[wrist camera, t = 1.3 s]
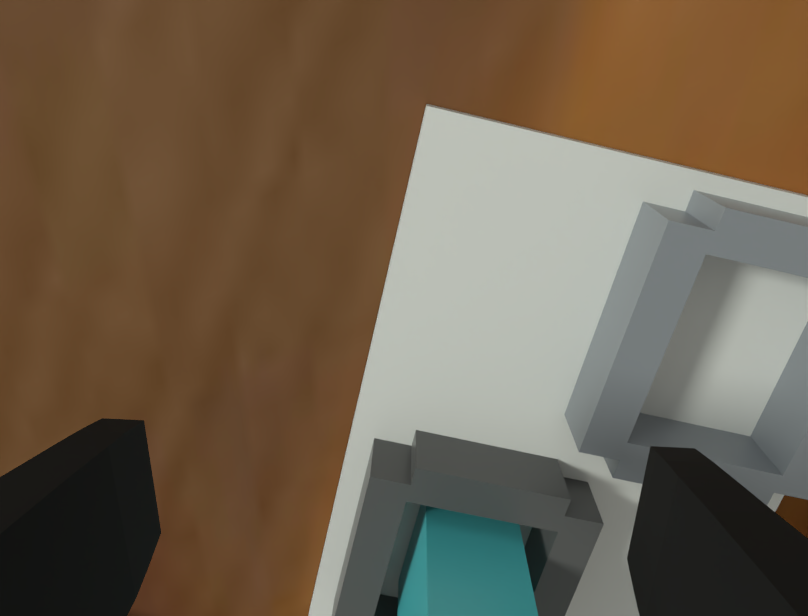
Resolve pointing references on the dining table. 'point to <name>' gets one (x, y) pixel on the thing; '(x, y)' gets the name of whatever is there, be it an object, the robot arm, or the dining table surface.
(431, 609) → the plug
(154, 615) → the dining table surface
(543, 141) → the panel
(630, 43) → the dining table surface
